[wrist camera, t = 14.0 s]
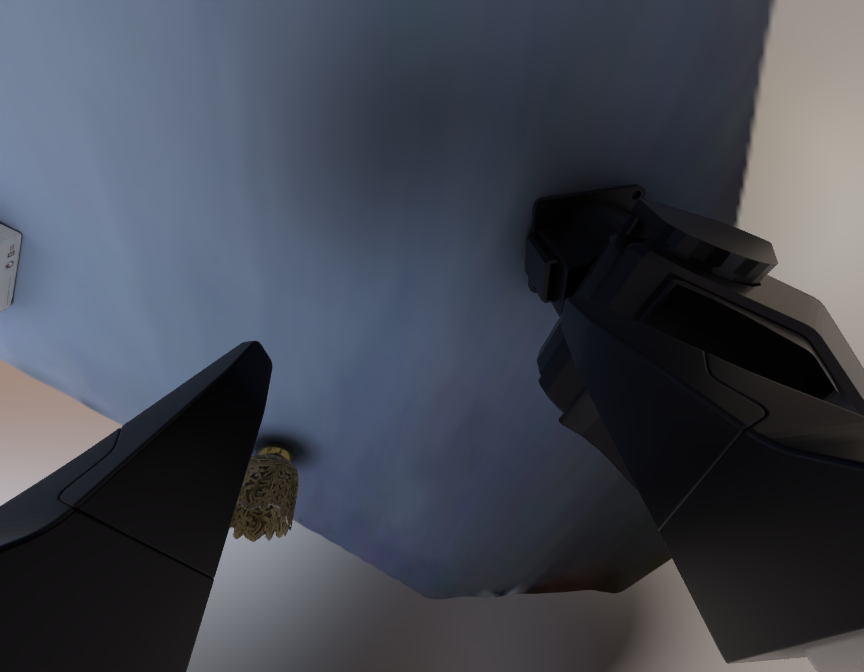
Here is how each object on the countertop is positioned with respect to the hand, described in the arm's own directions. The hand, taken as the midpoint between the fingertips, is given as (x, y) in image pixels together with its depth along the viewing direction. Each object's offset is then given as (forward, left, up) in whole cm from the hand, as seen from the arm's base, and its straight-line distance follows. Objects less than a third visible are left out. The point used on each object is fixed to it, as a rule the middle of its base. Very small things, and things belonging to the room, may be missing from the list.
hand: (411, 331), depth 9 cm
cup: (+20, +24, -13) cm, 34 cm away
